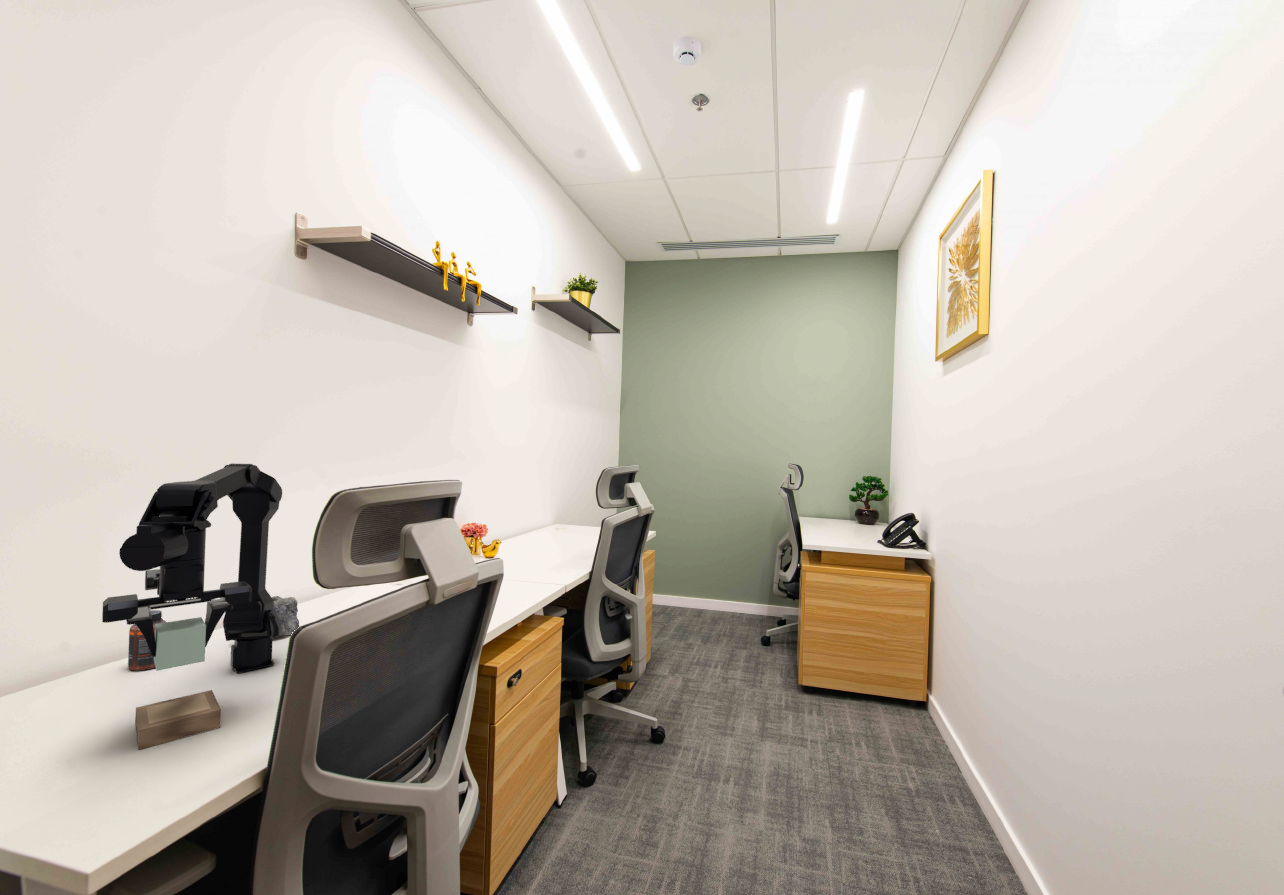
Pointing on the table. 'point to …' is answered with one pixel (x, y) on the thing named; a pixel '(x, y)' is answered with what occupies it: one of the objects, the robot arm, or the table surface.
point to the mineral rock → (286, 614)
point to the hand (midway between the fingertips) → (179, 651)
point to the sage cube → (179, 643)
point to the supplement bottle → (141, 646)
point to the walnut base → (176, 718)
